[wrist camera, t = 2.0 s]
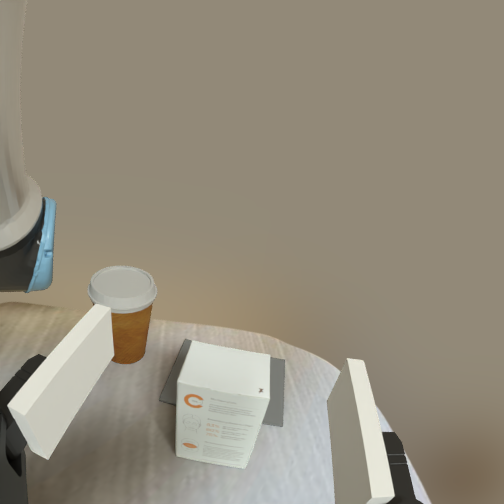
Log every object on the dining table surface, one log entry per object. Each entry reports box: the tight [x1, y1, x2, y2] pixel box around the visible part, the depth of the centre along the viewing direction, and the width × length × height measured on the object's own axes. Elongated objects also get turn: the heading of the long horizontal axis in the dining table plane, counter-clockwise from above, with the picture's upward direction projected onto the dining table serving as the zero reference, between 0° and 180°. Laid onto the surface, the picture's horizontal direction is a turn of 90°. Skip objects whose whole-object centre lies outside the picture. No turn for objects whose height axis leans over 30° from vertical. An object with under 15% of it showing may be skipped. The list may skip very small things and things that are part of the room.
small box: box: [175, 340, 270, 469], centre depth 31 cm, size 8×6×13 cm
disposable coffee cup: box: [88, 266, 157, 364], centre depth 42 cm, size 10×10×12 cm
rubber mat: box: [159, 339, 285, 427], centre depth 43 cm, size 16×14×1 cm
